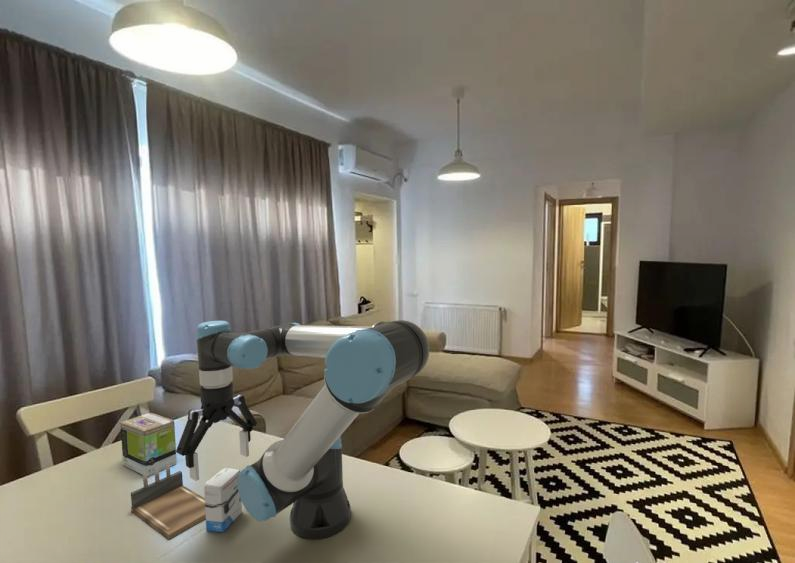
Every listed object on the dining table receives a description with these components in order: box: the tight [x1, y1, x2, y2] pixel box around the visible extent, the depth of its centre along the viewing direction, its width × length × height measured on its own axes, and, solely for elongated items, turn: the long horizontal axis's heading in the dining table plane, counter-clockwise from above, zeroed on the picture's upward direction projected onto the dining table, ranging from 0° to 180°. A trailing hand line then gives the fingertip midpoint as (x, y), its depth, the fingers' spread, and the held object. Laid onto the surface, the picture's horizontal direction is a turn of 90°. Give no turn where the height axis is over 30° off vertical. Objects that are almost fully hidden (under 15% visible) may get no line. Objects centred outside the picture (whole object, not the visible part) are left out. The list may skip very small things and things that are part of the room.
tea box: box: [120, 412, 178, 478], centre depth 135 cm, size 15×10×15 cm, turn 58°
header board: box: [130, 462, 206, 540], centre depth 110 cm, size 20×13×9 cm, turn 55°
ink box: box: [203, 467, 243, 533], centre depth 105 cm, size 8×5×12 cm, turn 168°
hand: (221, 466), depth 105 cm, fingers open, 13 cm apart
